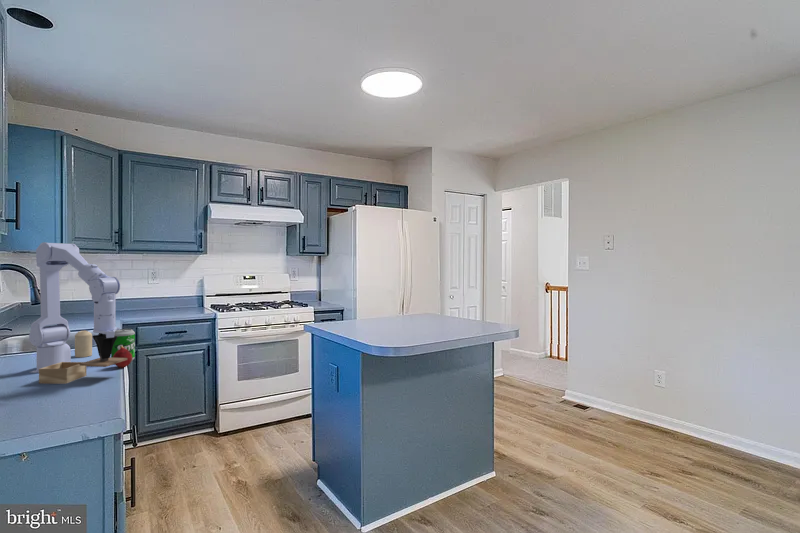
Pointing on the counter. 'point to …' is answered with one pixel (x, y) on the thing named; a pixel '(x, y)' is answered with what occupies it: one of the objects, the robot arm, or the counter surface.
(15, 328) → the counter surface
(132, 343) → the soda can
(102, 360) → the lid
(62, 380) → the box
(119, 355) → the onion
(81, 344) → the candle
